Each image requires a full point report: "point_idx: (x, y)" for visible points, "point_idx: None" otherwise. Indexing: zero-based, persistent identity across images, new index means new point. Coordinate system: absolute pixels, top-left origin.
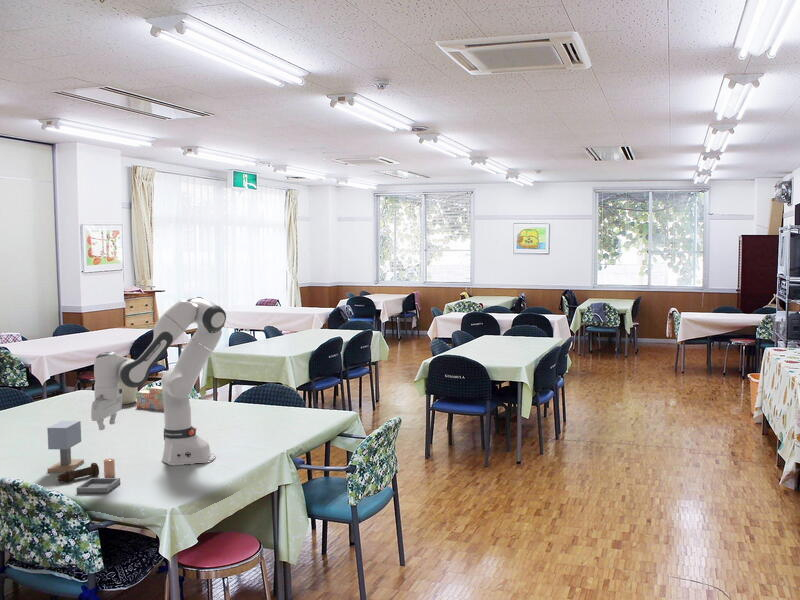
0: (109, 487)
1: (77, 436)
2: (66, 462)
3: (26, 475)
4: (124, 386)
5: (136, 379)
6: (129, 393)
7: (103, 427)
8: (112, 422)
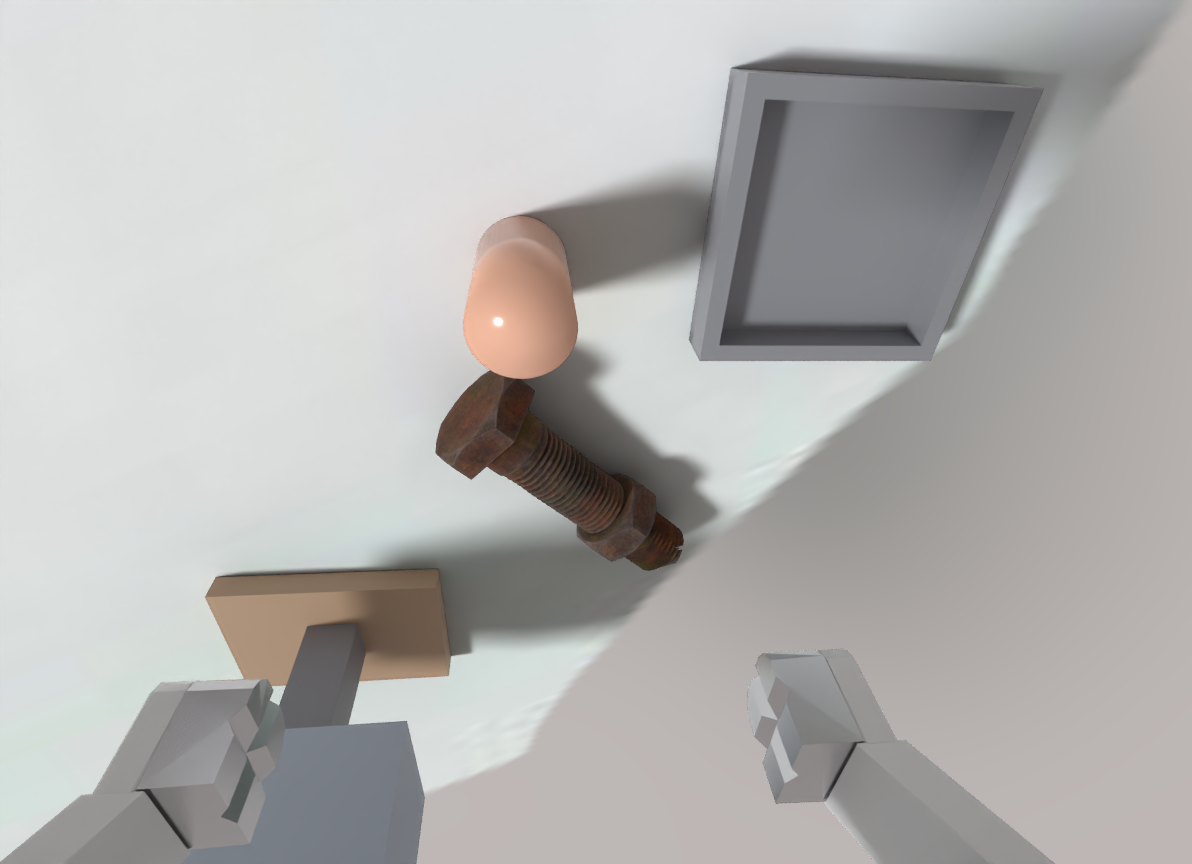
0: (982, 84)
1: None
2: (354, 643)
3: (510, 705)
4: None
5: None
6: None
7: (861, 695)
8: (246, 733)
